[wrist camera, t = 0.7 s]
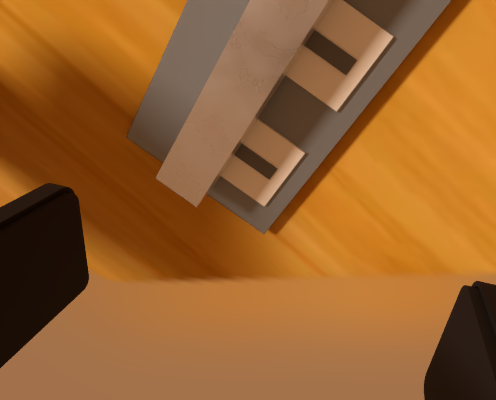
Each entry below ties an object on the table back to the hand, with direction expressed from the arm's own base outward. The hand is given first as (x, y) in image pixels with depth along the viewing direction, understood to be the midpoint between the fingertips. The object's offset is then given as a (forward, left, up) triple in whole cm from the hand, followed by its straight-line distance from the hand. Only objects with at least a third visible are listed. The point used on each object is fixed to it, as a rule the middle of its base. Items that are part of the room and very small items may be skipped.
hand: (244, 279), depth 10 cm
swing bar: (-6, 0, -22) cm, 23 cm away
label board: (-5, 0, -23) cm, 24 cm away
